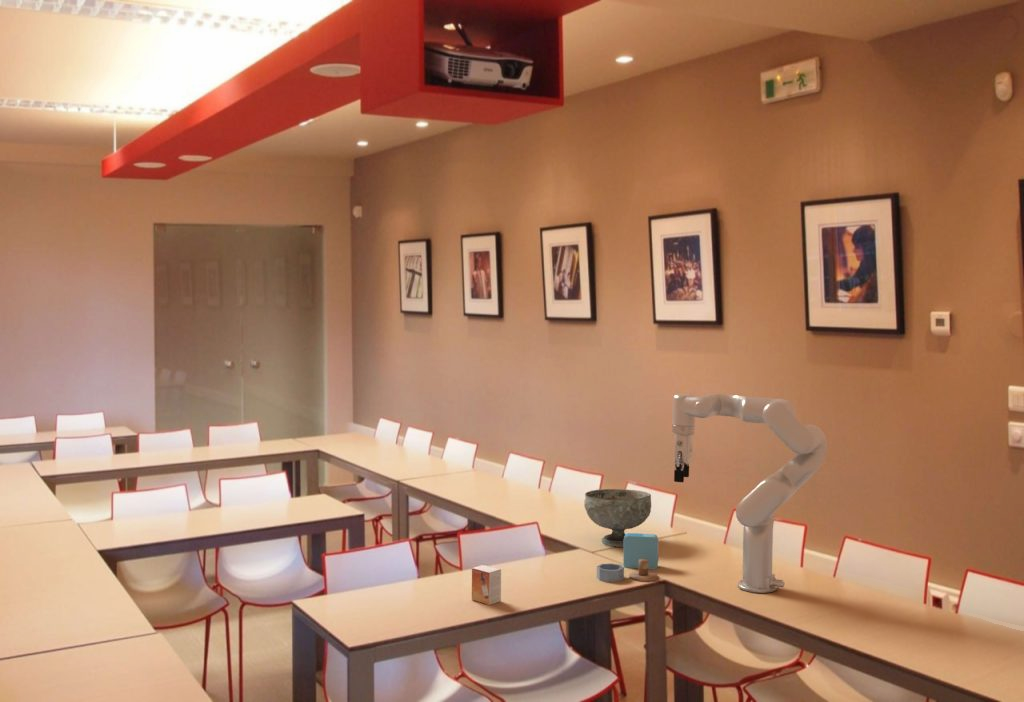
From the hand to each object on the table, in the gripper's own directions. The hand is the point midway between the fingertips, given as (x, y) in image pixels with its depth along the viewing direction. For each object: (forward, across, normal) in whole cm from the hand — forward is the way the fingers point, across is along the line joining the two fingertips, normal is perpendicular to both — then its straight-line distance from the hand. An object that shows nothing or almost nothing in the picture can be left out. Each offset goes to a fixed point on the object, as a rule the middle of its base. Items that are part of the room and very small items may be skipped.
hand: (681, 479), depth 337 cm
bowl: (+34, -12, +21) cm, 42 cm away
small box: (+35, -48, +52) cm, 79 cm away
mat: (+34, -8, +11) cm, 37 cm away
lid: (+34, -8, +11) cm, 36 cm away
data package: (+35, +6, +14) cm, 38 cm away
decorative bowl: (+35, +38, +31) cm, 61 cm away
